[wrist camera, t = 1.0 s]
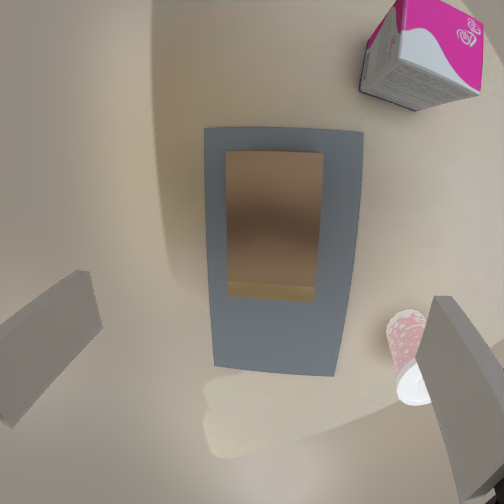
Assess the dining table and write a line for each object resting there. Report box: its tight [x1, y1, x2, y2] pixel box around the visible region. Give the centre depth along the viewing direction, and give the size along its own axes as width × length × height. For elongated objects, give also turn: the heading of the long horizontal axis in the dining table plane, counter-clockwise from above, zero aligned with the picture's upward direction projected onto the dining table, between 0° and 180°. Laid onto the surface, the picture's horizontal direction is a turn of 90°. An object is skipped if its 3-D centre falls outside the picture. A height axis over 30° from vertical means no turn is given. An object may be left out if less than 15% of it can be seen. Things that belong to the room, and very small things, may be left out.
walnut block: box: [226, 149, 324, 303], centre depth 23 cm, size 10×6×8 cm, turn 0°
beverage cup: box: [386, 309, 431, 406], centre depth 23 cm, size 6×6×14 cm
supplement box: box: [359, 0, 483, 111], centre depth 17 cm, size 6×6×12 cm
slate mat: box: [204, 127, 364, 377], centre depth 29 cm, size 26×14×1 cm, turn 0°
